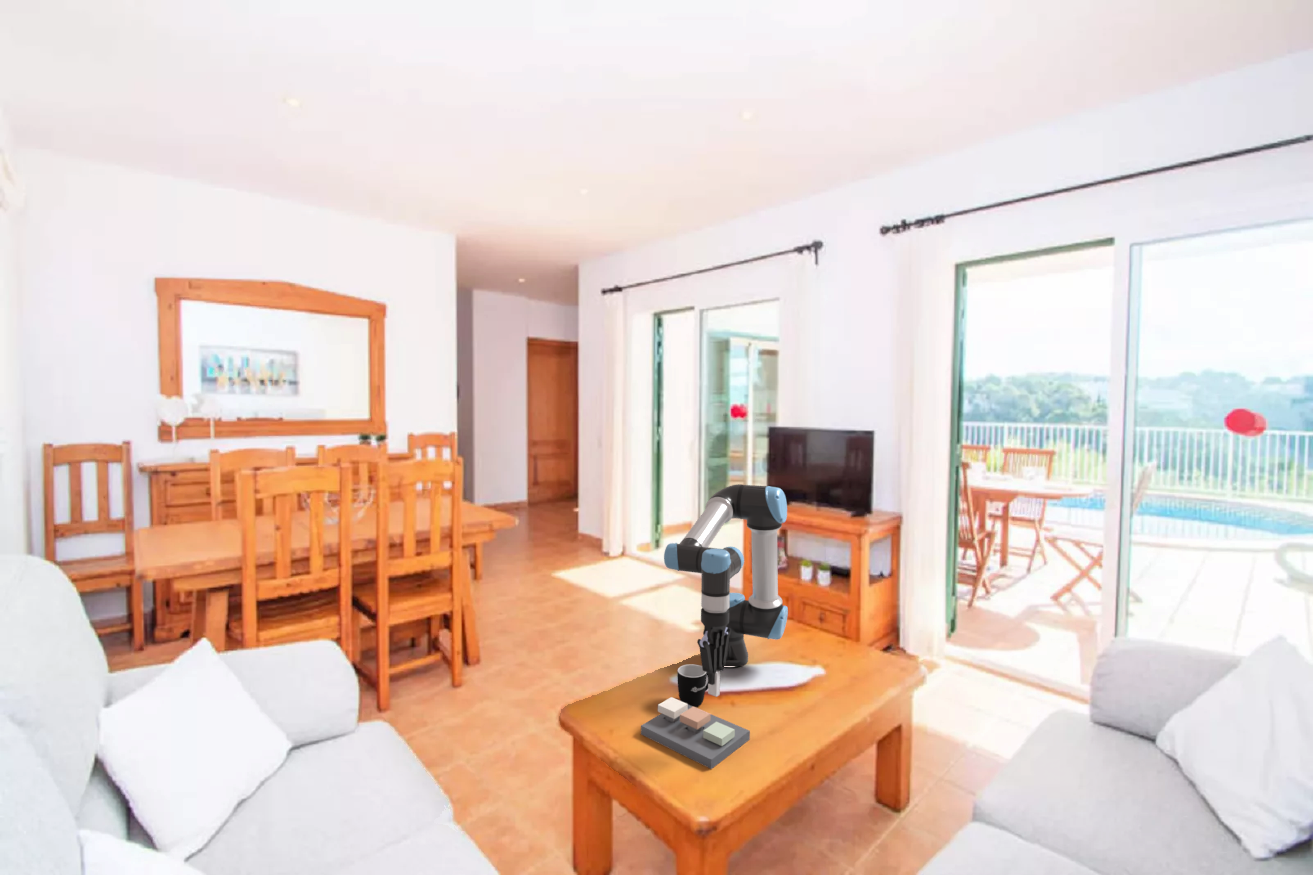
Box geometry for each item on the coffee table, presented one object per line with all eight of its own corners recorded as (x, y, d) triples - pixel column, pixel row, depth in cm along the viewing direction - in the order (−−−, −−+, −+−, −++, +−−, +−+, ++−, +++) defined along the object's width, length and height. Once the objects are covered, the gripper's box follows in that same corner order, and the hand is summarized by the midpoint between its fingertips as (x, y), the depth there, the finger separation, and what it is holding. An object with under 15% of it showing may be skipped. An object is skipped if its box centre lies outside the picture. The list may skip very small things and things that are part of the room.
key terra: (693, 721, 173) (693, 706, 173) (710, 729, 169) (710, 713, 169) (679, 730, 168) (680, 714, 168) (697, 738, 164) (697, 722, 164)
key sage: (716, 737, 168) (716, 721, 167) (734, 745, 164) (734, 729, 164) (703, 746, 163) (703, 730, 163) (721, 755, 159) (722, 738, 159)
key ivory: (671, 712, 178) (671, 697, 178) (687, 719, 174) (687, 704, 174) (657, 720, 174) (657, 704, 173) (674, 727, 170) (674, 712, 169)
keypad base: (681, 709, 183) (681, 701, 183) (749, 739, 168) (749, 730, 168) (640, 734, 170) (641, 725, 170) (711, 769, 154) (711, 759, 154)
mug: (689, 713, 182) (689, 679, 181) (671, 700, 189) (671, 668, 188) (719, 701, 189) (720, 669, 188) (700, 690, 196) (701, 659, 195)
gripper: (717, 599, 170) (715, 681, 172) (689, 611, 160) (688, 698, 162) (740, 605, 165) (738, 689, 167) (712, 618, 155) (711, 708, 157)
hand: (713, 694), depth 164 cm, fingers closed
